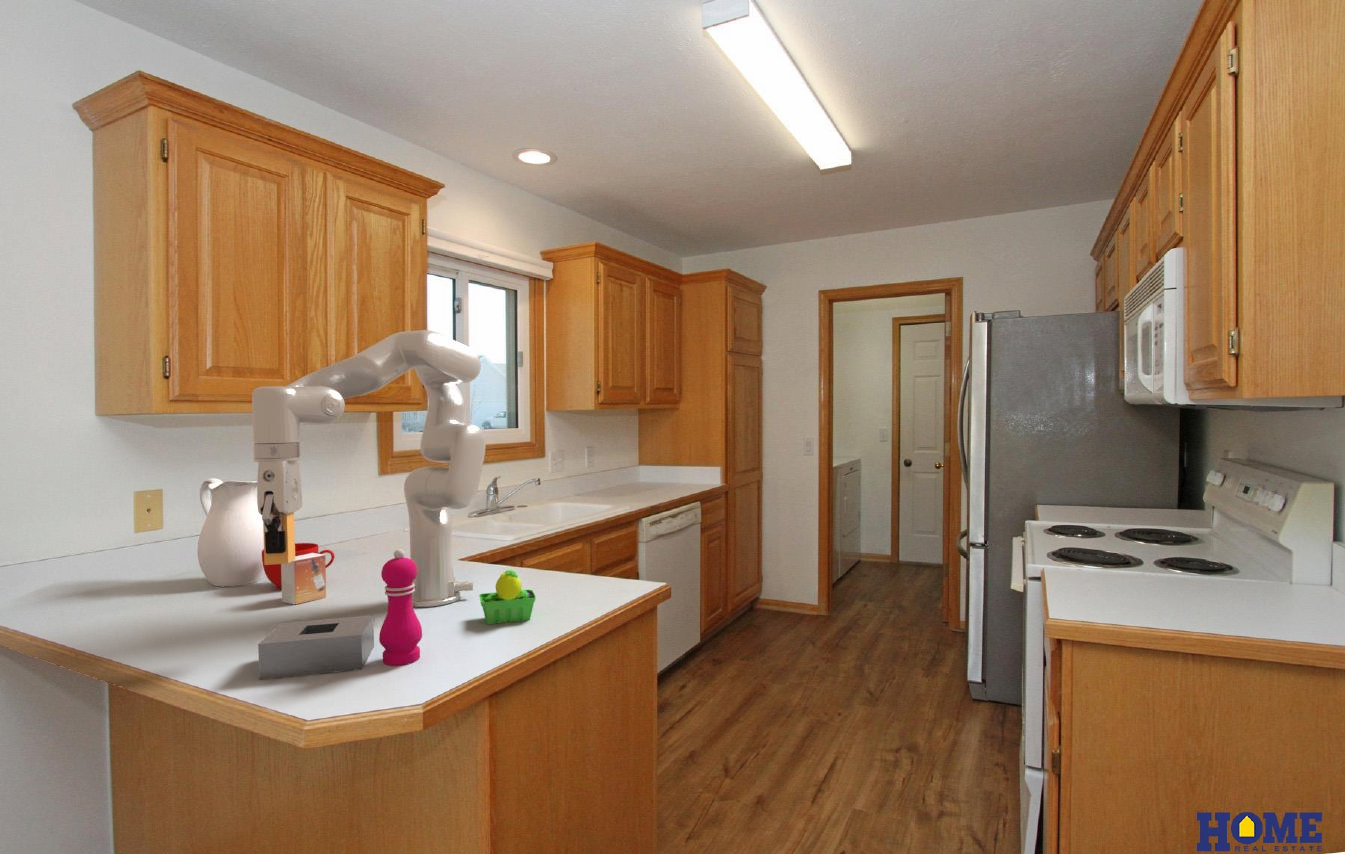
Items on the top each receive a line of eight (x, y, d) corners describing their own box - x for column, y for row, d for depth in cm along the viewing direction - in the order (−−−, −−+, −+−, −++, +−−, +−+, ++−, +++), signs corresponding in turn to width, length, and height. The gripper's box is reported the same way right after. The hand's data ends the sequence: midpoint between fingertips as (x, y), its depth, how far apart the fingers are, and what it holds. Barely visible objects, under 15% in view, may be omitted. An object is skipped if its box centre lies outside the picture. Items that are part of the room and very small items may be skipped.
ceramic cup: (328, 589, 174) (327, 550, 174) (254, 594, 171) (253, 554, 170) (340, 577, 187) (340, 540, 187) (272, 581, 183) (271, 544, 183)
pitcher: (285, 578, 186) (283, 476, 186) (218, 593, 172) (214, 482, 171) (241, 569, 199) (238, 473, 198) (174, 581, 185) (171, 478, 184)
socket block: (374, 646, 130) (373, 615, 130) (362, 669, 119) (361, 634, 119) (280, 655, 126) (279, 623, 126) (259, 679, 115) (258, 644, 115)
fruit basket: (532, 611, 152) (531, 560, 152) (537, 622, 144) (536, 569, 144) (479, 617, 149) (478, 565, 149) (481, 629, 140) (480, 574, 140)
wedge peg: (295, 558, 131) (293, 501, 130) (288, 563, 127) (286, 504, 126) (272, 560, 130) (270, 502, 129) (264, 564, 126) (262, 505, 125)
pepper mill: (387, 653, 127) (384, 545, 126) (427, 651, 127) (425, 544, 127) (373, 668, 119) (371, 553, 119) (416, 666, 120) (413, 552, 119)
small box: (294, 605, 160) (293, 560, 159) (281, 602, 163) (280, 558, 162) (327, 597, 166) (326, 554, 166) (314, 594, 169) (313, 552, 169)
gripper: (284, 454, 120) (287, 558, 121) (312, 449, 137) (315, 541, 137) (236, 456, 119) (239, 561, 119) (271, 450, 135) (273, 543, 135)
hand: (280, 549), depth 128 cm, fingers closed on wedge peg, 4 cm apart
